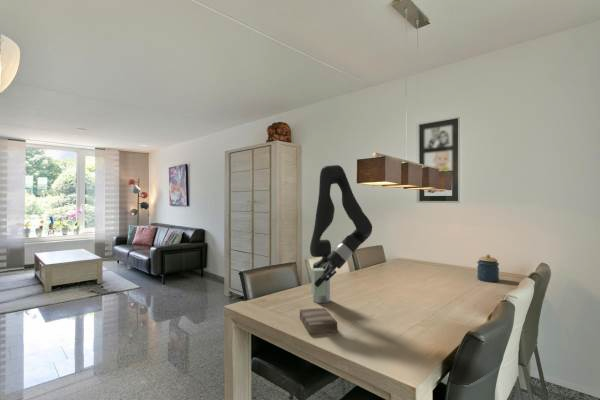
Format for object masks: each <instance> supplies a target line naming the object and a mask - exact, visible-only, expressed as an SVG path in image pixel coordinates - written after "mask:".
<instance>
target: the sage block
mask: <svg viewBox="0 0 600 400" xmlns="http://www.w3.org/2000/svg"><path fill="white" fill-rule="evenodd" d="M323 271H324V269H323V268H313V267H312V268H311V280H310V281H311V282H310V283H311V287H310V288H311V294H312V296H313V295H314V296H326V281H323V283H322V284H321V285H320V286H319V287H317V286H316V285H315V282H316V281H317V280H318V279H319V278H320V277H321V275H322V274H323Z"/></svg>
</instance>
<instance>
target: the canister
mask: <svg viewBox="0 0 600 400" xmlns="http://www.w3.org/2000/svg"><path fill="white" fill-rule="evenodd" d="M476 263H477V267H476V268H477V275H476V277H477V280H479V281H480V282H481V281H482V282H488V283H499V281H500V268H499V265H500V263H499V262H498V259H496V258H495V257H493V256H492V257H491V255H490V254H486V255H485V256H481V257H479V258H478V261H477V262H476Z"/></svg>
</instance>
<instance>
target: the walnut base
mask: <svg viewBox="0 0 600 400" xmlns="http://www.w3.org/2000/svg"><path fill="white" fill-rule="evenodd" d="M299 320H300V321H301V323H302V325H303V326H304V328H305V329H306V331H307V333H308V335H318V334H330V333H337V332H338V321H337V320H336V319H335V318H334V317H333V315H331V312H329V311H328V310H327V309H326V308H325V307H317V308H316V307H315V308H303V309H301V308H300V309H299Z"/></svg>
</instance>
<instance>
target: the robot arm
mask: <svg viewBox="0 0 600 400" xmlns="http://www.w3.org/2000/svg"><path fill="white" fill-rule="evenodd" d="M336 184H337V186H338V187H339V189H340V192H341V204H342V207H343V209H344V211H345V213H346V215H347V217H348V218H349V219H350V220H351V221H352V223H353V225H354V227H355V229H354V230H353V231H352V232H351V234H349V235H347V236H346V237H345V238H344V239H343V240H342V241H341V242H340V243H339V244H337V246H336V247H335V248H334V249H333V250H332V244H331V242H330V240H329V239H321V238H322V236H323V234H324V233H325V231H326V230H327V229H328V228H329V227H330V226H331V224H332V223H333V222H334V215H335V204H334V202H333V200H332V198H331V197H332V196H331V188H332V185H336ZM318 188H319V190H318V199H317V200H318V201H317V205H316V212H315V221H314V227H313V231H312V237H311V240H310V241H311V242H310V247H309V251H310V252H309V253H310V255H311V257H312V258H320V257H321V259H320V260H318V261H316V262H314V263H313V266H312V268H323V269H324V271H323V274H322V275H321V277H320V278H319V279H318V280H317V281H316V282H315V285H316V286H317V287H319V286H320V285H321V284H322V283H323V281H326V296H314V295H313V294H312V301H313V302H314V303H316V304H328V303H329V302H330V301H331V279H332V277H334V275H336V274H337V271H336V268H337V269H341V268H342V267H343V266H344V264H346V262H348V260H349V259H350V258H351V256H352V255H353V254H354V253H355V252H356V250H357V249H358V248H359V247H360V246H361V245H362V244H363V243H364V242H365V241H366V240H367V239H368V238H369V237H370V236H371V234H372V231H373V224H372V223H371V221H370V219H369V218H368V217H367V215H366V214H365V213H364V211H363V209H362V207H361V206H360V204H359V202H358V200H357V199H356V197H355V195H354V193H353V190H352V188H351V184H350V183H349V180H348V177H347V174H346V172H345V170H344V169H343V167H342V166H341V165H339V164H334V165H325V166H323V167H322V168H321V169H320V174H319V187H318Z"/></svg>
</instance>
